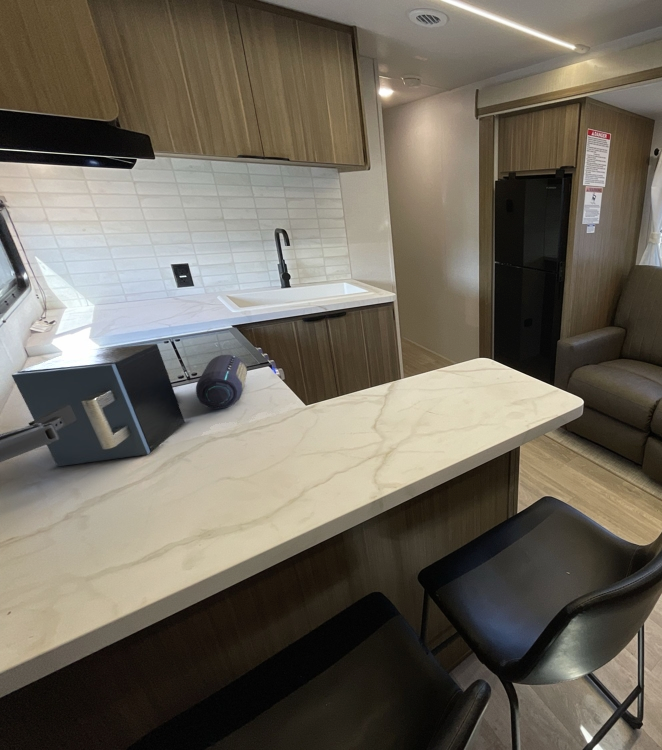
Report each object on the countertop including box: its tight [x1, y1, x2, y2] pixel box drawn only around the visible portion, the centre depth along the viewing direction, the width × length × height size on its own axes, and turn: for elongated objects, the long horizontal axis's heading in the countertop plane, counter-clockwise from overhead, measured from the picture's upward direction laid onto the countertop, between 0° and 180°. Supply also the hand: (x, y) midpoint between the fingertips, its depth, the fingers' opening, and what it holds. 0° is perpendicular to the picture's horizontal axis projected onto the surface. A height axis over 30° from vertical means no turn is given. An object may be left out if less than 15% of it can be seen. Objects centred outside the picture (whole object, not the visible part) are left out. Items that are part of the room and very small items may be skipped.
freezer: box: [16, 343, 186, 453], centre depth 86 cm, size 14×16×20 cm
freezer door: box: [11, 364, 151, 467], centre depth 76 cm, size 7×16×20 cm, turn 102°
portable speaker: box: [195, 354, 248, 410], centre depth 111 cm, size 25×10×10 cm, turn 27°
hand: (20, 418), depth 63 cm, fingers open, 13 cm apart
